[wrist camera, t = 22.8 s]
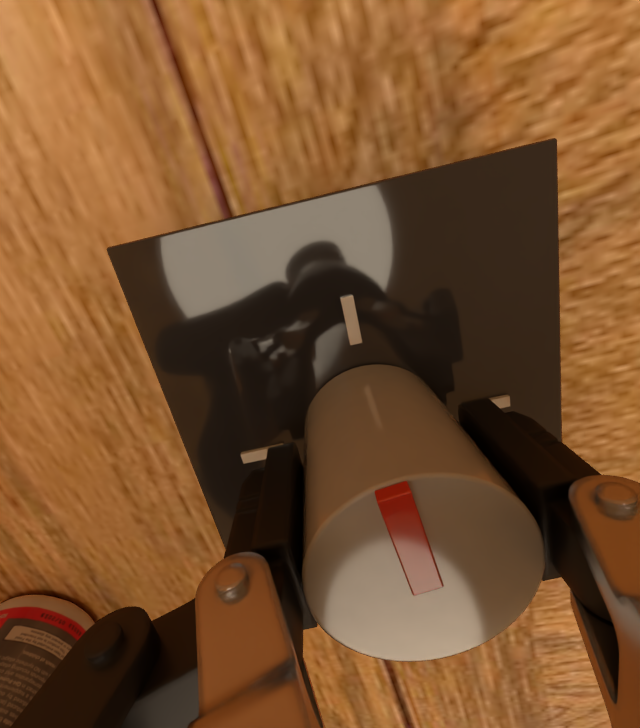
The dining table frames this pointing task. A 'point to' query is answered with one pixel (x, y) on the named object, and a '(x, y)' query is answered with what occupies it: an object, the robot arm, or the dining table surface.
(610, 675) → the robot arm
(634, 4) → the dining table surface
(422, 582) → the stove knob
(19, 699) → the pill bottle
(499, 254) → the black dial box
